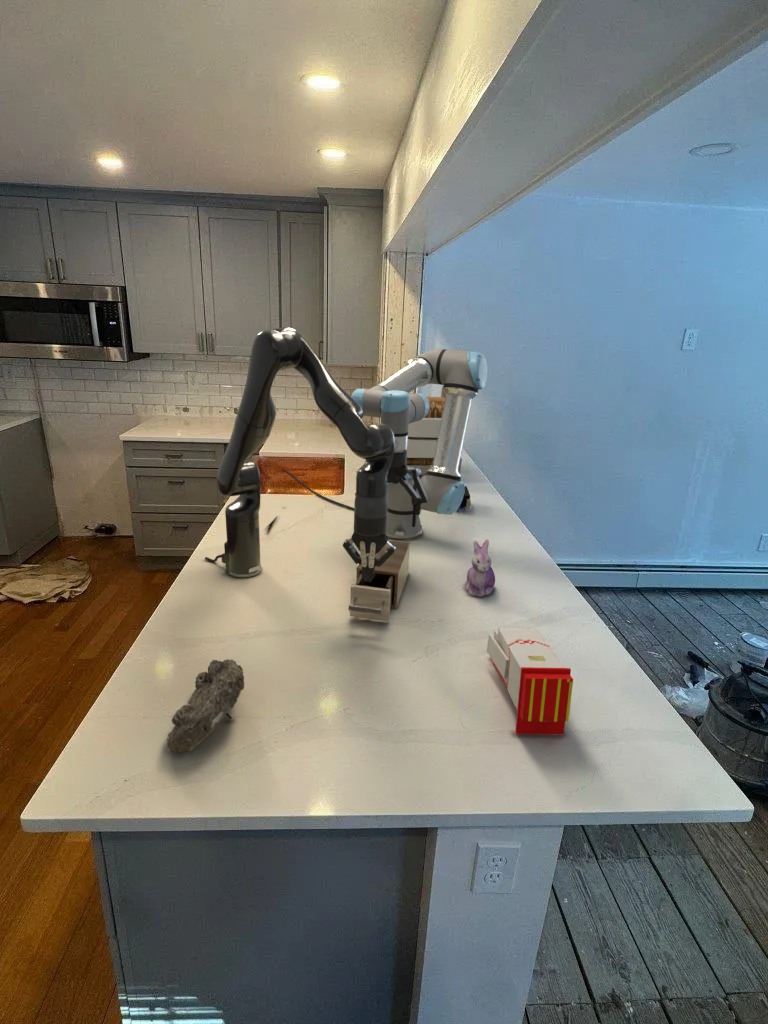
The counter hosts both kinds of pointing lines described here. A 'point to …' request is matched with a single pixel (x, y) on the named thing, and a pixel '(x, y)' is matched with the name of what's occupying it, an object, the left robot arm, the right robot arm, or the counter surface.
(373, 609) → the drawer
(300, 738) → the counter surface
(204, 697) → the fossil
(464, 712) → the counter surface
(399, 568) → the cabinet
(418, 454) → the white boxy container
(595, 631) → the counter surface
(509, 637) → the toy
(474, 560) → the figurine
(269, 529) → the feather
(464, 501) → the figurine character
